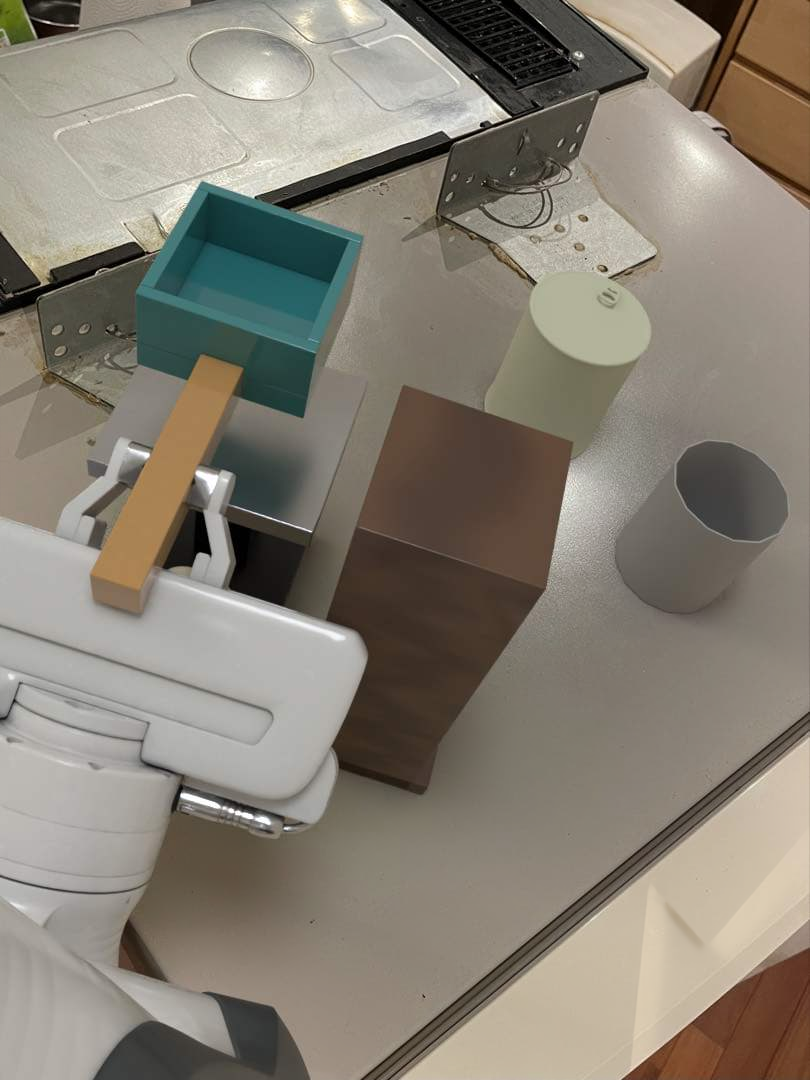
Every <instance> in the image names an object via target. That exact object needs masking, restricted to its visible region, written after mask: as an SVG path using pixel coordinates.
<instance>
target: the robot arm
mask: <svg viewBox="0 0 810 1080" xmlns="http://www.w3.org/2000/svg"><path fill="white" fill-rule="evenodd" d="M152 450H153V447H150V446H147V445H144V444H141V443H138V442H136V441H133V440H129V439H126V438H123V437H120V438H119V439H118V441H117V443H116V445H115V447H114V450H113V453H112V456H111V459H110V462H109V465H108V468H107V470H106V473H105V476H101V477H99V478H96V480H94V481H93V482H92V483H91V484H89V486H87V487H86V488H85V489H83V491H82V492H80V493H79V494H78V495H76V496H75V497H74V498H73V499H72V500H71V501H69V502H68V503H67V504H66V505H65V506H63V508H62V511H61V513H60V517H59V519H58V522H57V525H56V528H55V531H54V532H51V531H48V530H45V529H42V528H39V527H36V526H33V525H30V524H27V523H24V522H20V521H17V520H14V519H11V518H8V517H5V516H1V515H0V1080H311V1076H310V1074H309V1070H308V1068H307V1065H306V1063H305V1060H304V1058H303V1055H302V1053H301V1052H300V1049H299V1046H298V1045H297V1043H296V1041H295V1039H294V1038H293V1036H292V1033H291V1032H290V1030H289V1029H288V1027H287V1026H286V1024H285V1022H284V1021H283V1019H282V1017H280V1015H279V1014H278V1011H277V1010H276V1008H275V1007H274V1006H273V1005H268V1004H264V1003H260V1002H255V1001H251V1000H246V999H242V998H239V997H234V996H230V995H226V994H221V993H217V992H213V991H209V990H208V991H201V992H199V991H196V990H193V989H189V988H186V987H184V986H181V985H177V984H174V983H171V982H167V981H165V980H160V979H157V978H155V977H151V976H148V975H145V974H141V973H138V972H134V971H132V970H128V969H125V968H121V967H119V965H120V964H119V957H120V946H121V940H122V935H123V932H124V929H125V926H126V923H127V922H128V920H129V917H130V915H131V913H132V912H133V911H134V909H135V908H136V906H137V905H138V903H139V902H140V900H141V899H142V897H143V895H144V894H145V892H146V891H147V888H148V886H149V885H150V882H151V879H152V875H153V873H154V871H155V870H154V869H155V867H156V864H157V860H158V858H159V855H160V851H161V848H162V847H163V846H162V845H163V842H164V840H165V837H166V833H167V831H168V828H169V826H170V822H171V819H172V816H173V814H174V813H175V812H176V813H180V814H183V815H186V816H190V817H193V818H197V819H200V820H203V821H206V822H210V823H214V824H217V823H218V824H220V825H226V826H231V827H234V828H238V829H241V830H243V831H247V833H248V834H249V835H252V836H255V837H257V838H262V839H265V840H266V839H267V840H273V841H278V840H279V839H280V837H281V835H295V834H300V833H303V832H306V831H308V830H310V829H313V827H314V826H316V825H317V824H318V823H319V822H320V821H321V820H322V819H323V817H324V816H325V814H326V813H327V811H328V809H329V806H330V803H331V800H332V798H333V797H332V796H333V793H334V791H335V787H336V783H337V781H338V778H339V773H340V771H339V770H340V768H339V763H338V758H337V755H336V752H335V750H334V748H333V746H332V744H333V742H334V740H335V738H336V736H337V734H338V732H339V730H340V728H341V726H342V724H343V721H344V719H345V717H346V715H347V713H348V711H349V708H350V706H351V703H352V701H353V699H354V696H355V694H356V691H357V689H358V686H359V683H360V681H361V678H362V676H363V673H364V670H365V667H366V664H367V660H368V651H367V648H366V645H365V643H364V641H363V639H362V637H361V636H360V634H359V633H358V632H357V631H355V630H353V629H350V628H347V627H344V626H341V625H338V624H335V623H332V622H329V621H326V619H322V618H319V617H316V616H314V615H310V614H307V613H304V612H300V611H297V610H295V609H292V608H288V607H285V606H284V607H282V606H279V605H276V604H273V603H270V602H266V601H263V600H260V599H257V598H254V597H251V596H248V595H245V594H242V593H238V592H235V591H232V590H229V589H228V586H229V583H230V580H231V577H232V574H233V571H234V568H235V565H236V560H235V555H234V550H233V545H232V541H231V536H230V531H229V527H228V522H227V518H226V517H224V515H225V512H226V509H227V506H228V503H229V501H230V498H231V495H232V492H233V489H234V485H235V480H236V476H235V475H234V473H231V472H228V471H225V470H222V469H219V468H215V467H212V466H209V465H206V464H202V463H200V464H198V466H197V468H196V471H195V476H194V480H195V484H193V485H192V486H191V488H190V491H189V493H188V496H187V499H186V503H188V504H190V505H191V506H193V507H196V508H199V509H202V510H203V512H204V517H205V522H206V527H207V532H208V537H209V542H210V548H211V553H212V556H211V555H208V554H205V553H201V552H200V553H198V554H197V555H196V558H195V561H194V564H193V567H192V570H191V572H190V575H189V576H186V575H182V574H179V573H176V572H173V571H170V570H167V569H164V568H162V569H161V570H159V572H158V573H157V576H156V578H155V581H154V583H153V586H152V589H151V592H150V595H149V598H148V600H147V602H146V604H145V607H144V609H143V611H142V613H141V614H137V613H134V612H131V611H128V610H125V609H121V608H118V607H115V606H112V605H109V604H106V603H103V602H99V601H96V600H94V599H92V591H91V583H90V572H91V570H92V568H93V566H94V564H95V562H96V560H97V558H98V556H99V554H100V552H101V551H102V549H103V547H102V548H101V546H102V543H103V541H104V537H105V534H106V531H107V528H108V522H107V521H106V520H103V519H100V518H97V516H99V515H100V514H101V513H102V512H103V511H105V509H107V508H108V507H109V506H110V505H111V504H112V503H113V502H114V501H116V499H118V498H119V497H120V496H121V495H122V494H123V493H124V492H125V491H126V490H128V489H129V486H131V487H134V485H135V483H136V481H137V479H138V477H139V475H140V474H141V472H142V470H143V468H144V466H145V464H146V462H147V460H148V458H149V456H150V454H151V452H152ZM286 818H287V819H291V820H294V821H297V822H295V823H286Z"/></svg>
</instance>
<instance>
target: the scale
mask: <svg viewBox="0 0 810 1080" xmlns="http://www.w3.org/2000/svg"><path fill="white" fill-rule="evenodd" d="M186 383H187V380H184V379H181V378H178V377H175V376H172V375H169V374H166V373H163V372H160V371H157V370H154V369H151V368H148V367H145V366H142V365H139V364H137V367H136V369H135V370H134V372H133V374H132V375H131V378H130V380H129V381H128V383H127V385H126V387H125V388H124V390H123V392H122V393H121V396H120V397H119V399H118V401H117V403H116V404H115V406H114V408H113V410H112V412H111V414H110V416H109V417H108V419H107V421H106V422H105V425H104V426H103V427H102V430H101V431H100V433H99V436H98V437H97V439H96V440H95V442H94V445H93V446H92V448H91V449H90V451H89V454H88V455H87V457H86V463H87V474H88V476H90V477H93V478H96V479H98V478H99V477H101V476H105V473H106V470H107V468H108V465H109V462H110V459H111V456H112V453H113V450H114V447H115V445H116V443H117V441H118V439H119V438H120V437H123V438H126V439H129V440H133V441H136V442H138V443H141V444H144V445H147V446H150V447H153V448H154V446H155V444H156V442H157V440H158V438H159V436H160V434H161V432H162V430H163V428H164V426H165V424H166V422H167V420H168V418H169V416H170V414H171V412H172V410H173V408H174V406H175V404H176V402H177V400H178V398H179V397H180V395H181V393H182V391H183V389H184V387H185V385H186ZM368 383H369V381H368V380H367V379H364V378H363V379H362V378H360V377H357V376H355V375H351V374H348V373H346V372H342V371H340V370H337V369H334V368H331V367H328V366H326V365H325V366H324V369H323V371H322V374H321V376H320V379H319V381H318V384H317V386H316V389H315V391H314V394H313V396H312V399H311V401H310V404H309V406H308V409H307V411H306V414H305V416H304V418H303V419H302V418H299V417H296V416H293V415H290V414H287V413H284V412H281V411H278V410H275V409H272V408H269V407H266V406H263V405H260V404H257V403H254V402H251V401H248V400H245V399H242V398H240V399H239V401H238V404H237V406H236V408H235V410H234V412H233V414H232V417H231V419H230V421H229V423H228V425H227V428H226V430H225V432H224V434H223V436H222V438H221V441H220V443H219V445H218V447H217V449H216V452H215V454H214V456H213V458H212V460H211V462H210V465H209V466H212V467H215V468H219V469H222V470H225V471H228V472H231V473H234V475H235V476H236V480H235V485H234V489H233V492H232V495H231V498H230V501H229V503H228V506H227V509H226V512H225V515H224V517H226V518H227V522H228V527H229V531H230V536H231V541H232V545H233V550H234V555H235V560H236V565H235V568H234V571H233V574H232V577H231V580H230V583H229V586H228V589H229V590H232V591H235V592H238V593H242V594H245V595H248V596H251V597H254V598H257V599H260V600H263V601H266V602H270V603H273V604H276V605H279V606H282V607H285V605H286V602H287V600H288V596H289V595H290V594H289V593H290V591H291V588H292V587H293V583H294V580H295V577H296V575H297V572H298V569H299V566H300V564H301V561H302V559H303V555H304V553H305V549H306V548H310V547H311V546H312V542H313V539H314V538H315V534H316V531H317V528H318V526H319V523H320V520H321V518H322V515H323V511H324V508H325V506H326V503H327V500H328V497H329V494H330V492H331V490H332V486H333V484H334V481H335V479H336V475H337V473H338V470H339V467H340V465H341V462H342V459H343V456H344V453H345V450H346V447H347V446H348V443H349V440H350V437H351V434H352V432H353V428H354V426H355V423H356V420H357V418H358V415H359V412H360V410H361V405H362V404H363V401H364V399H365V394H366V392H367V391H366V390H367V388H368ZM128 489H130V490H132V489H133V487H131V486H129V488H128ZM200 552H201V553H205V554H208V555H211V556H212V553H211V548H210V542H209V537H208V532H207V527H206V522H205V517H204V512H203V510H202V509H199V508H196V507H193V506H190V508H189V511H188V513H187V515H186V517H185V519H184V521H183V524H182V526H181V528H180V530H179V532H178V535H177V537H176V539H175V541H174V543H173V545H172V548H171V550H170V552H169V554H168V556H167V559H166V561H165V563H164V565H163V567H162V568H164V569H167V570H170V571H173V572H176V573H179V574H182V575H186V576H189V575H190V572H191V570H192V567H193V564H194V561H195V558H196V555H197V554H198V553H200Z"/></svg>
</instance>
